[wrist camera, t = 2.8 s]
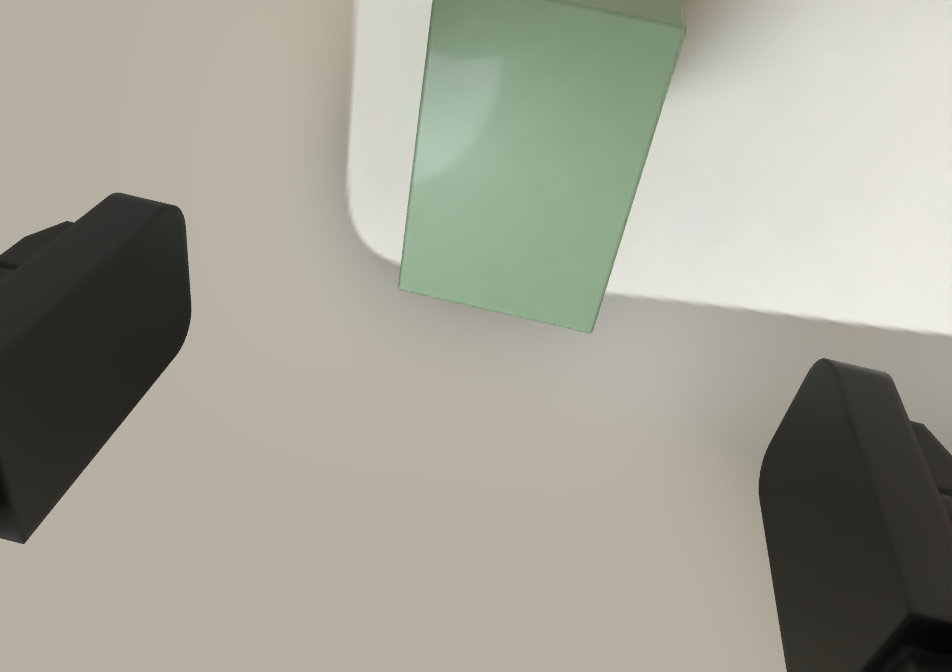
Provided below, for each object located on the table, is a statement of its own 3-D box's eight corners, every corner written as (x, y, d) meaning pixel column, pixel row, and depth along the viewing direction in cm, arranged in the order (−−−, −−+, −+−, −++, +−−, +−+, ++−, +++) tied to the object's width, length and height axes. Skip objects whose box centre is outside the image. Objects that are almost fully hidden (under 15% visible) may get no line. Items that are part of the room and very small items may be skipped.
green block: (487, 95, 25) (397, 290, 16) (524, -115, 22) (434, -26, 12) (609, 121, 25) (591, 335, 16) (665, -85, 22) (687, 28, 12)
